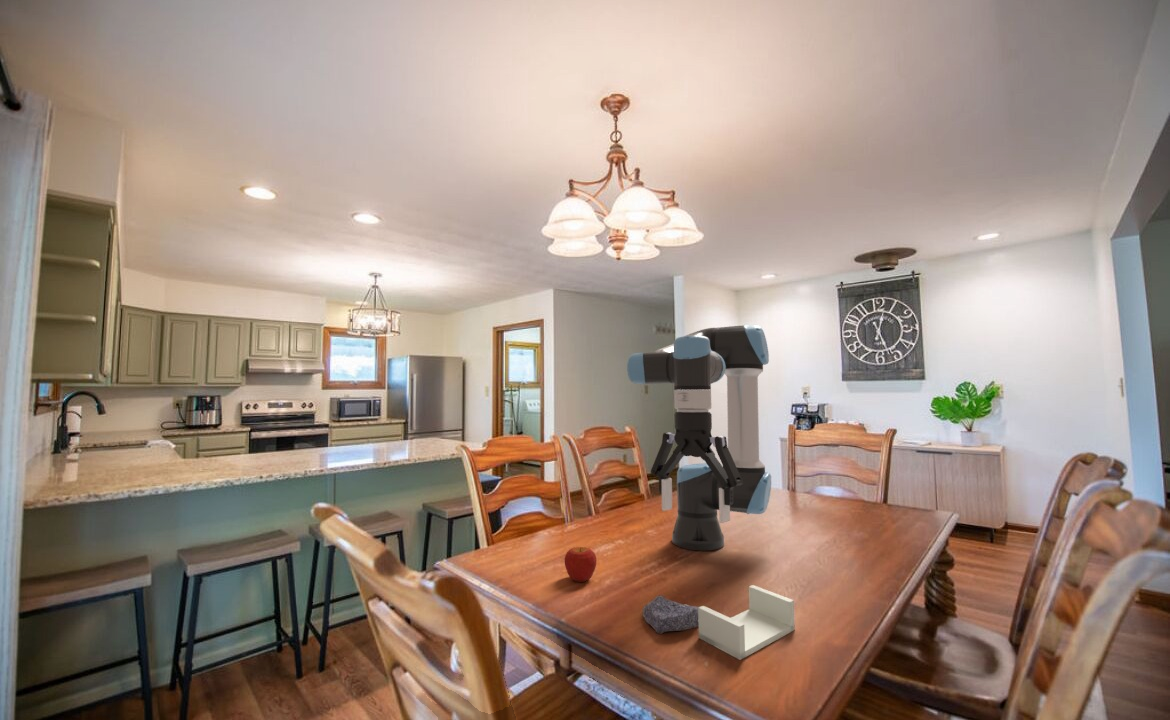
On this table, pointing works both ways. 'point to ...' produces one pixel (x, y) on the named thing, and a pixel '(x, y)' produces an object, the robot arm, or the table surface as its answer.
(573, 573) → the apple
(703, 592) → the table surface
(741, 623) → the u rest
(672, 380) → the robot arm
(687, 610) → the rock
